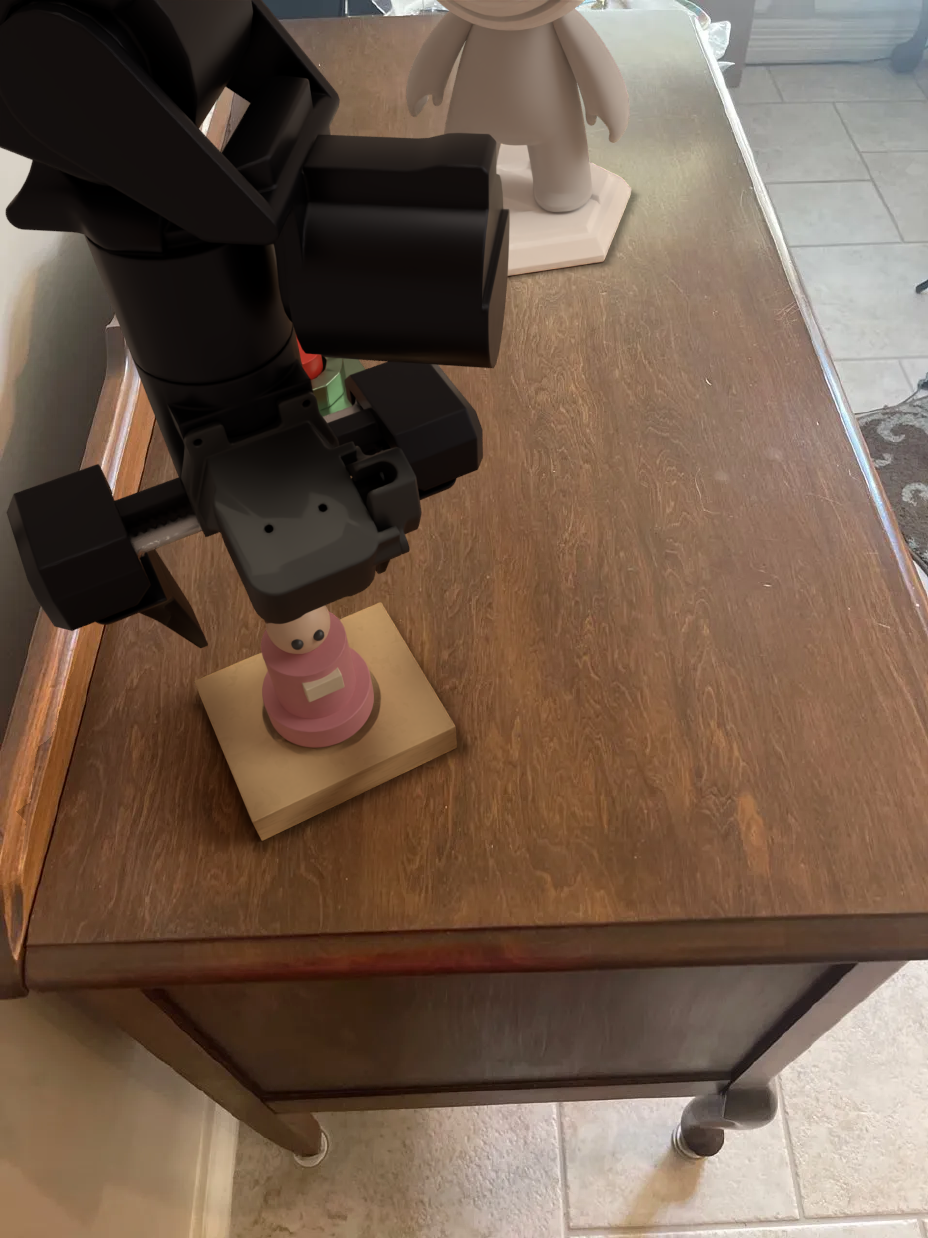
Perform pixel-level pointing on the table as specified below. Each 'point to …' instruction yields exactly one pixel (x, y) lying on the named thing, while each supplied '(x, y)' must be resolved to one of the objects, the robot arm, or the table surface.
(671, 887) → the table surface
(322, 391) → the green button box
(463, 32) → the white cartoon figure
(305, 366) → the button
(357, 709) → the doll
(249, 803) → the doll stand
